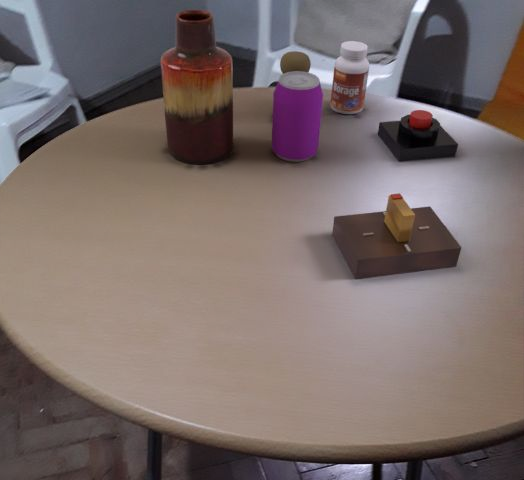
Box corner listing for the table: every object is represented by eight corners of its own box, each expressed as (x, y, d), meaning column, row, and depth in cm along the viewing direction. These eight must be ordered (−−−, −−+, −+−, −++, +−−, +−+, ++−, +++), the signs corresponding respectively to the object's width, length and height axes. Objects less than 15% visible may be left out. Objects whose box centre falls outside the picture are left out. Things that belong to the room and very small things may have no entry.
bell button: (425, 119, 106) (427, 109, 105) (434, 128, 103) (436, 118, 102) (405, 120, 105) (407, 110, 104) (413, 130, 103) (415, 120, 101)
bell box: (430, 129, 111) (435, 107, 108) (455, 156, 104) (461, 133, 101) (377, 134, 109) (381, 111, 106) (398, 161, 102) (403, 138, 100)
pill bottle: (325, 111, 115) (331, 48, 107) (335, 99, 119) (342, 37, 112) (358, 118, 114) (366, 54, 106) (367, 105, 118) (376, 42, 110)
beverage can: (298, 137, 108) (303, 65, 99) (327, 156, 103) (334, 82, 95) (262, 149, 104) (264, 75, 96) (289, 168, 100) (294, 93, 92)
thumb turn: (409, 241, 81) (415, 212, 78) (397, 242, 81) (403, 214, 78) (394, 220, 84) (400, 192, 82) (383, 221, 84) (388, 193, 81)
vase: (193, 171, 98) (185, 33, 84) (155, 146, 104) (141, 12, 90) (246, 151, 104) (247, 17, 89) (207, 128, 109) (202, -1, 95)
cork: (288, 127, 110) (291, 63, 103) (268, 114, 114) (271, 51, 106) (315, 120, 113) (321, 56, 105) (296, 107, 116) (300, 45, 109)
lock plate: (425, 224, 89) (430, 205, 87) (456, 266, 83) (462, 246, 80) (331, 235, 87) (334, 215, 85) (355, 279, 80) (358, 259, 78)
